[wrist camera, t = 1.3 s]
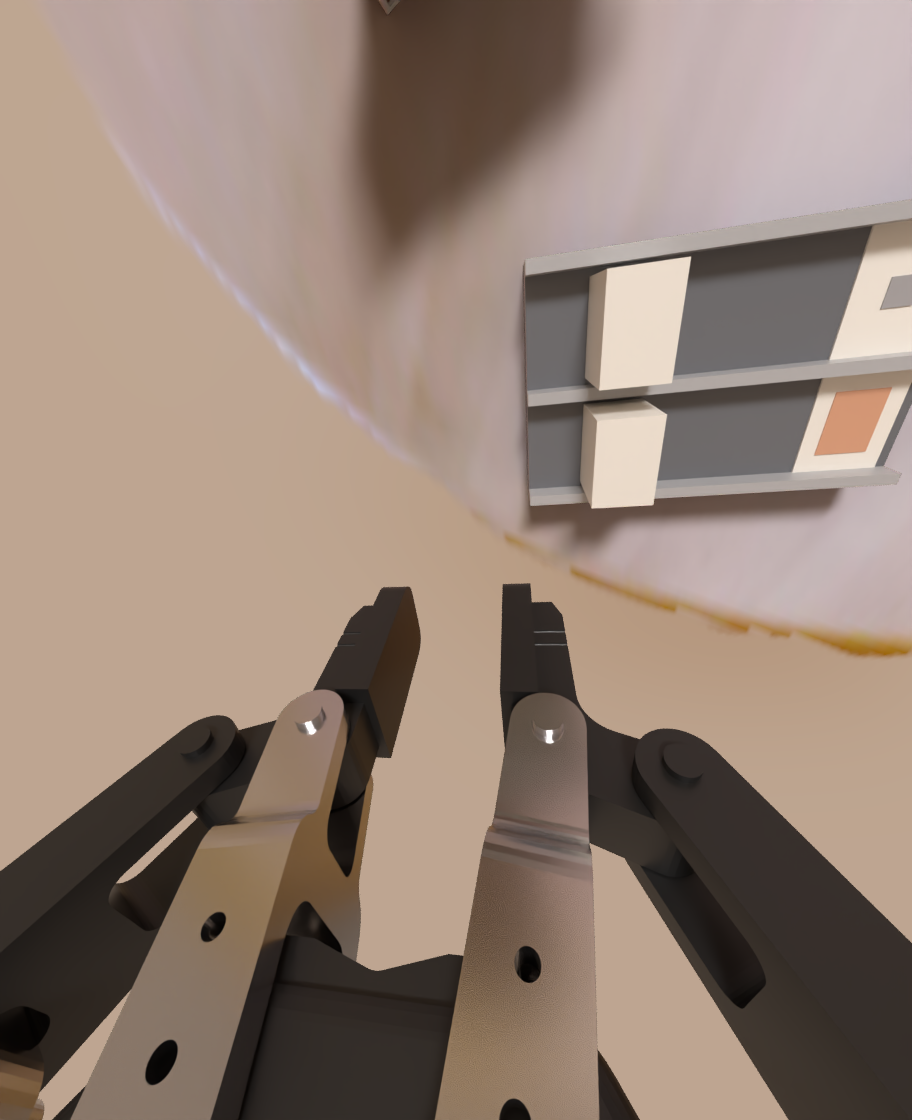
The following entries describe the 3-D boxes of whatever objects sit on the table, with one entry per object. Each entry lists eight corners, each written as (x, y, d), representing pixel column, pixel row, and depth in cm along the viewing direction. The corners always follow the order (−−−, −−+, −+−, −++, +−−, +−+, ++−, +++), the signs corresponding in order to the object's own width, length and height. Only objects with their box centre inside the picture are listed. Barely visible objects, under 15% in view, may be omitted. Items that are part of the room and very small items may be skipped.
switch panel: (960, 199, 18) (1043, 178, 15) (852, 464, 24) (896, 484, 21) (523, 265, 20) (525, 258, 18) (528, 486, 27) (530, 505, 24)
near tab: (657, 266, 18) (691, 256, 15) (645, 371, 21) (671, 383, 17) (589, 276, 19) (607, 268, 15) (584, 378, 21) (599, 390, 18)
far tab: (641, 398, 21) (667, 414, 18) (632, 477, 23) (653, 505, 20) (583, 404, 22) (597, 420, 18) (579, 480, 24) (591, 508, 21)
